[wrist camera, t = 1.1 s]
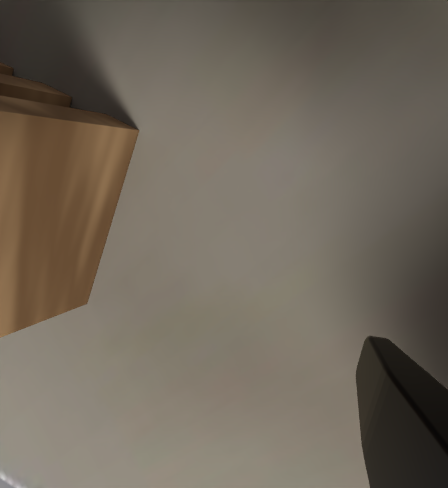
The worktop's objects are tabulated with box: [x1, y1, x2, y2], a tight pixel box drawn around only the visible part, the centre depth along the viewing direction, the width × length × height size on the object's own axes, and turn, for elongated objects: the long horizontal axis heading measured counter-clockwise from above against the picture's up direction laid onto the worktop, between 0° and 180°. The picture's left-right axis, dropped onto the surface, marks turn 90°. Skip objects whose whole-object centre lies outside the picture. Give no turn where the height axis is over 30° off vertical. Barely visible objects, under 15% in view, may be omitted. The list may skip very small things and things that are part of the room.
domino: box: [0, 96, 139, 337], centre depth 19 cm, size 2×11×12 cm, turn 156°
